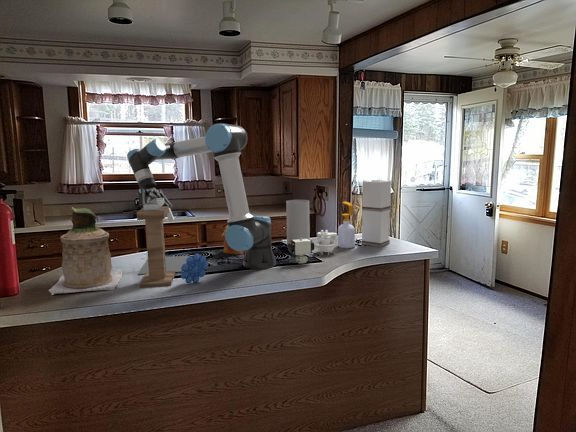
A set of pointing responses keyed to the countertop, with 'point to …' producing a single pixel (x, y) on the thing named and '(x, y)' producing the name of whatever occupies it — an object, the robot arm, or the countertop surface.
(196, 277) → the grapes
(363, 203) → the white lidded square box
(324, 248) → the mechanical part
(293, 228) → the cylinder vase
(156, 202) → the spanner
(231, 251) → the ceramic vessel
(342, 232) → the soap bottle
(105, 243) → the cookie jar
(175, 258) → the rubber mat
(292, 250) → the pneumatic valve
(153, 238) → the stand
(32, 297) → the countertop surface
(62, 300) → the countertop surface
